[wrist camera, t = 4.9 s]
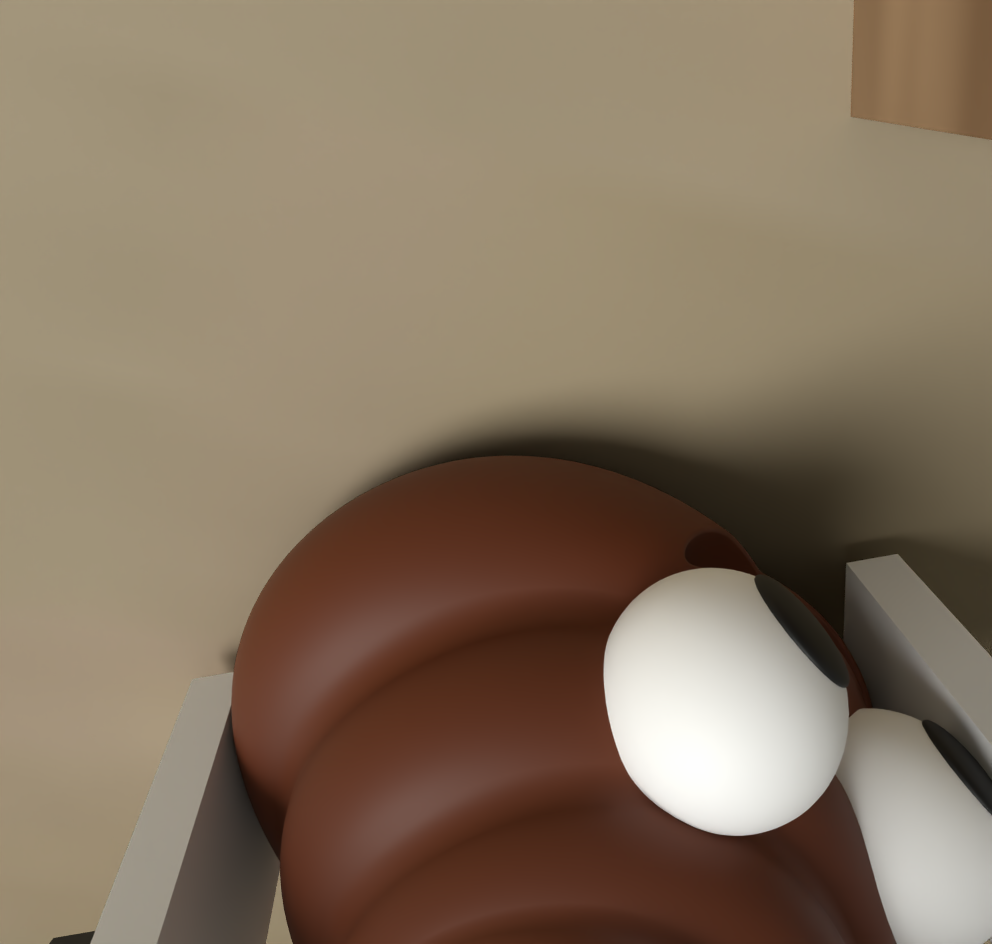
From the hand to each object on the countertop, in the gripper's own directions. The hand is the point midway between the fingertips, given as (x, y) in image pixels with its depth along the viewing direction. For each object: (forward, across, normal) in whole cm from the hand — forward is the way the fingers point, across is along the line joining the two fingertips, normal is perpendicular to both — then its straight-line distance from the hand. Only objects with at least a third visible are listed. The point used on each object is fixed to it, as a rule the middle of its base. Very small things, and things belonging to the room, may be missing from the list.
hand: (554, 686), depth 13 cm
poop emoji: (+1, 0, 0) cm, 1 cm away
